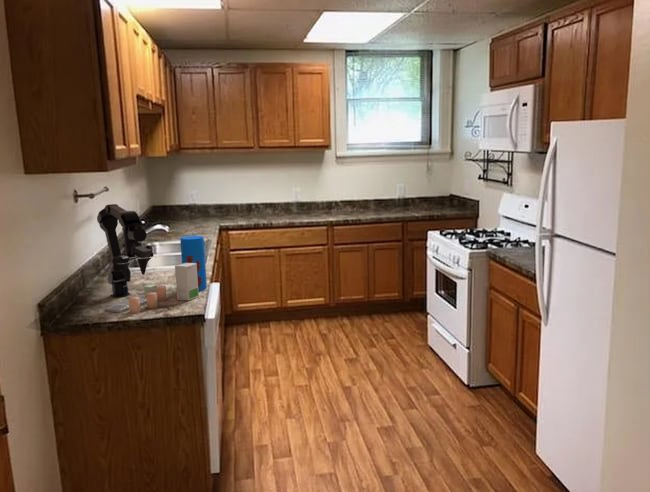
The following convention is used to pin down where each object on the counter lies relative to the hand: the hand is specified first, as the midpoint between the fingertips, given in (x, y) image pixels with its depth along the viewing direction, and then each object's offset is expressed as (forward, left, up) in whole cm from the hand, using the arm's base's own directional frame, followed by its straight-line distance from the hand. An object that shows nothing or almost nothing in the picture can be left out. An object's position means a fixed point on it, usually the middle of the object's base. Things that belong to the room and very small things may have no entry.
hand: (135, 276), depth 234 cm
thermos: (+7, +30, -13) cm, 33 cm away
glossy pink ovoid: (+6, +9, -12) cm, 16 cm away
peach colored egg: (+8, -9, -12) cm, 17 cm away
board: (-1, -3, -12) cm, 13 cm away
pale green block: (-3, +12, -12) cm, 17 cm away
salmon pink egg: (+10, -1, -12) cm, 16 cm away
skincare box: (+15, +16, -13) cm, 25 cm away
